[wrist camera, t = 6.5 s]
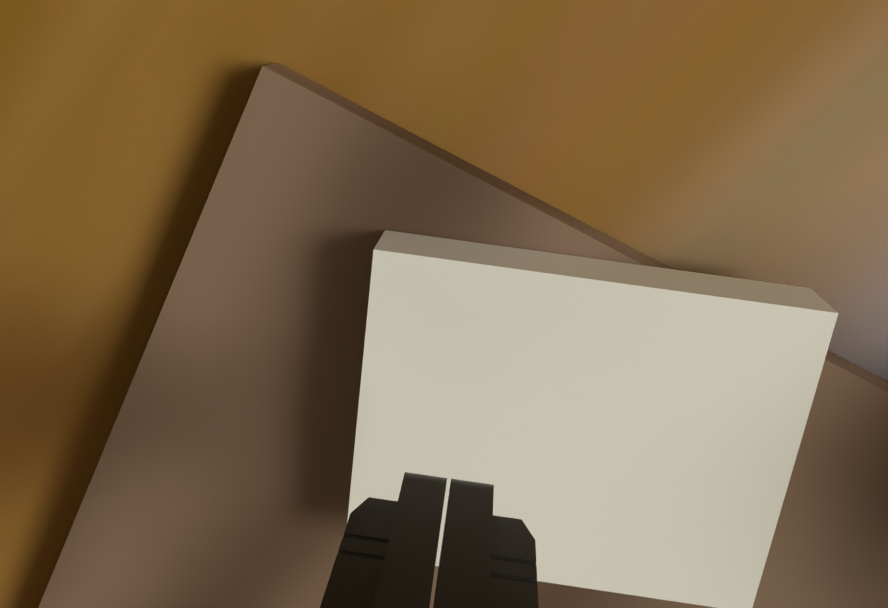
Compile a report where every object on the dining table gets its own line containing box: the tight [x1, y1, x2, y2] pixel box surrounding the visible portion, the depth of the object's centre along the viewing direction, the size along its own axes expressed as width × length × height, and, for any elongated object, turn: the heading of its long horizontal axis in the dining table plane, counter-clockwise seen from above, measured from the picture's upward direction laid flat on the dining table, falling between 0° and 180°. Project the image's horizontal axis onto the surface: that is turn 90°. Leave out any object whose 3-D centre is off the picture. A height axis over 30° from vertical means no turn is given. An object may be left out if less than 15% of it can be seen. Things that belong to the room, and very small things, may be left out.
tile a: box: [347, 230, 838, 608], centre depth 18 cm, size 2×7×9 cm
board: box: [38, 63, 888, 608], centre depth 21 cm, size 21×19×1 cm
